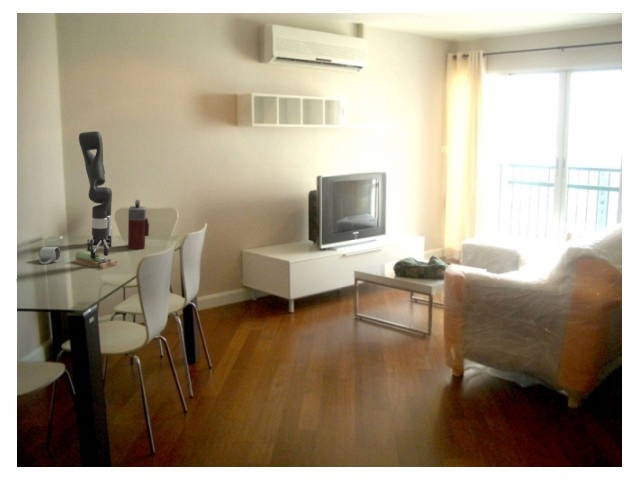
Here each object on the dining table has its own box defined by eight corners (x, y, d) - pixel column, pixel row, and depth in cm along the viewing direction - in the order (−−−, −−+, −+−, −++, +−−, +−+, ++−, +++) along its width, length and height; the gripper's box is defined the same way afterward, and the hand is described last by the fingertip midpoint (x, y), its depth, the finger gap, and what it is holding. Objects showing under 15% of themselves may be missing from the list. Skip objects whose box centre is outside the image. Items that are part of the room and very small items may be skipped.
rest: (90, 259, 318) (90, 254, 318) (117, 265, 311) (117, 260, 311) (75, 262, 309) (75, 258, 309) (102, 269, 302) (102, 264, 302)
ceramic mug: (45, 258, 312) (44, 244, 311) (60, 259, 312) (60, 245, 311) (35, 264, 302) (34, 249, 300) (51, 265, 302) (50, 250, 300)
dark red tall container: (148, 249, 348) (149, 201, 342) (128, 248, 346) (128, 200, 340) (149, 245, 357) (150, 198, 351) (129, 244, 354) (130, 197, 348)
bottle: (83, 248, 315) (109, 254, 308) (84, 258, 317) (110, 264, 310) (74, 252, 310) (101, 258, 303) (76, 262, 312) (102, 268, 305)
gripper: (104, 223, 313) (104, 253, 317) (83, 227, 300) (83, 258, 304) (115, 225, 310) (115, 256, 314) (94, 229, 297) (94, 261, 301)
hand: (99, 257), depth 309 cm, fingers open, 8 cm apart
